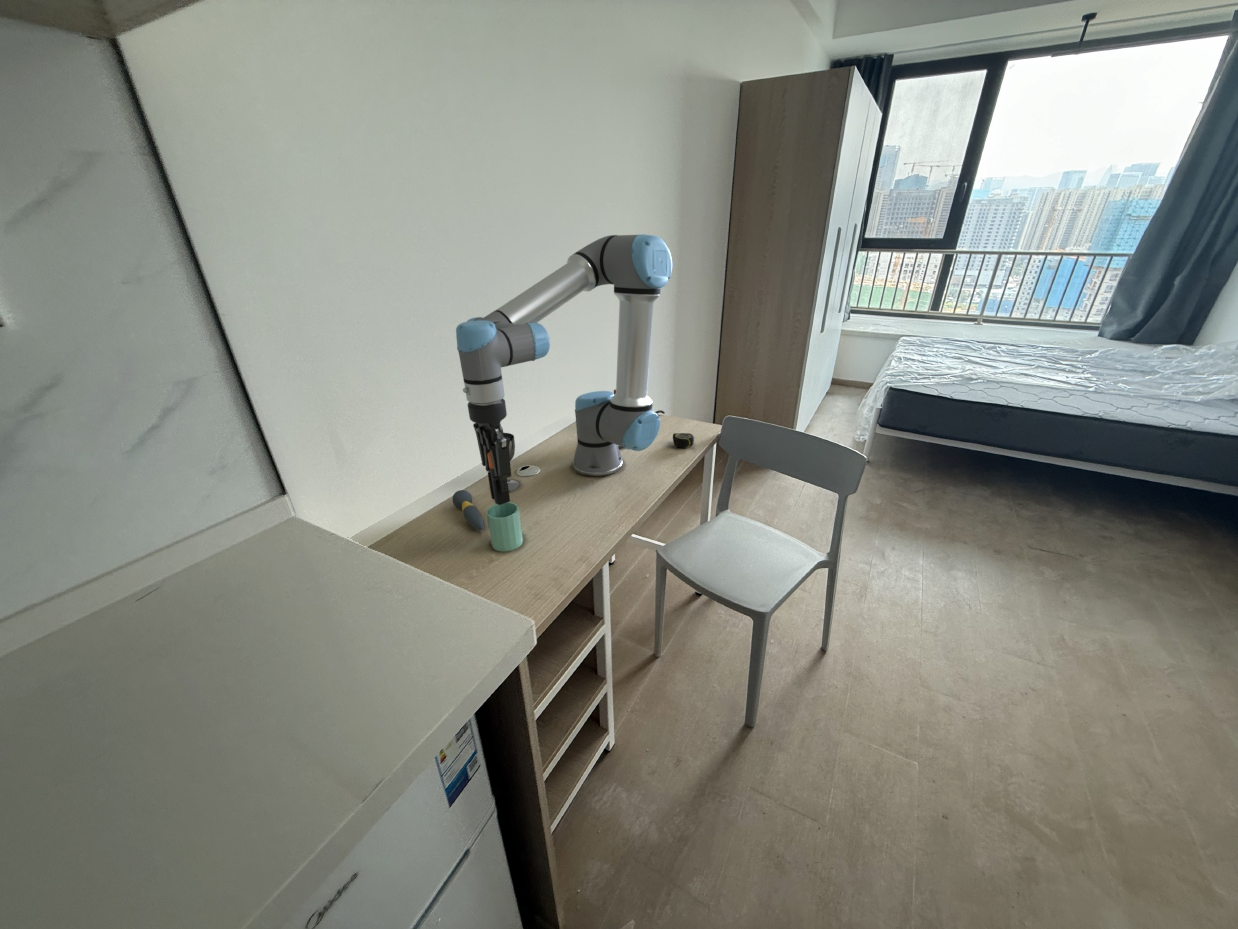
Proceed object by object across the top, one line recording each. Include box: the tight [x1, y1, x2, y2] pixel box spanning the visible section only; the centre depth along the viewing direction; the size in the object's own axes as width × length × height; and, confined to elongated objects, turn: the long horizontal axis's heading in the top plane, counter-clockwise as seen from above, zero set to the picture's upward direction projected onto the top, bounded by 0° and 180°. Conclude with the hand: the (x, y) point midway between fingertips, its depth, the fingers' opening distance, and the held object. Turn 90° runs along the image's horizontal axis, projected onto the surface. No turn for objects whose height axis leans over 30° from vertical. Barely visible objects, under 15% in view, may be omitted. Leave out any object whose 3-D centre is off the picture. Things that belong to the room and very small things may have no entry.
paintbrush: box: [451, 489, 485, 532], centre depth 124 cm, size 20×5×5 cm, turn 38°
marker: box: [487, 452, 498, 504], centre depth 107 cm, size 3×3×12 cm
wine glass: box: [503, 432, 520, 492], centre depth 136 cm, size 8×8×15 cm
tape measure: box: [672, 432, 695, 449], centre depth 161 cm, size 7×7×4 cm
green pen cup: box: [485, 501, 524, 552], centre depth 112 cm, size 7×7×9 cm
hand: (500, 499), depth 109 cm, fingers closed on marker, 2 cm apart
